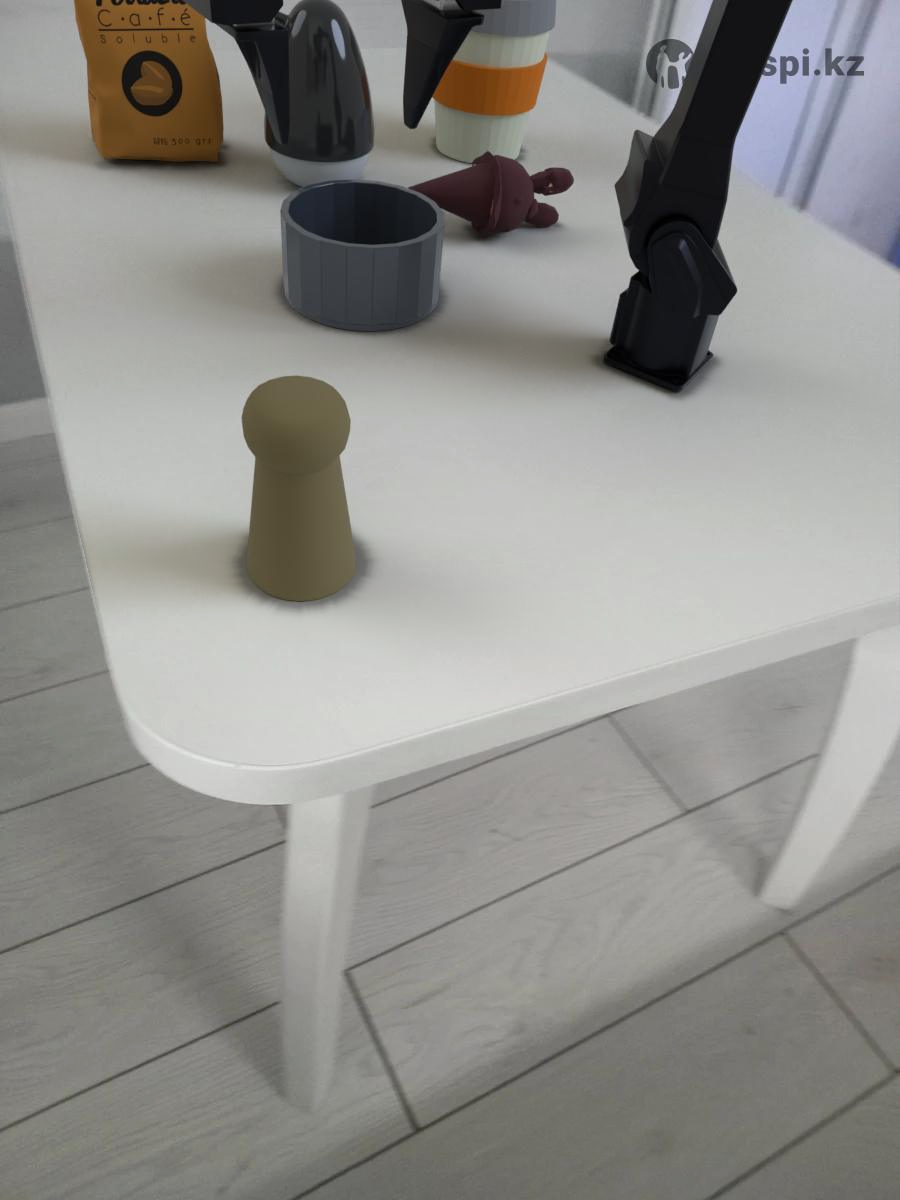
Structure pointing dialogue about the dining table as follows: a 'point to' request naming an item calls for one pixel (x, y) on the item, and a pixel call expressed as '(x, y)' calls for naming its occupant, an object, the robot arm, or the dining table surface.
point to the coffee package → (150, 80)
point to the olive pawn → (298, 489)
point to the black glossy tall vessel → (324, 98)
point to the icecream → (497, 194)
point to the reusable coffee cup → (494, 81)
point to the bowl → (361, 254)
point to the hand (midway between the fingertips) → (347, 134)
